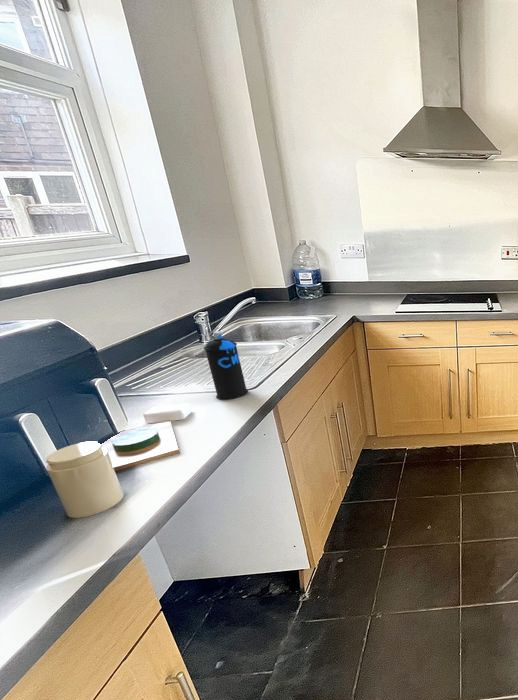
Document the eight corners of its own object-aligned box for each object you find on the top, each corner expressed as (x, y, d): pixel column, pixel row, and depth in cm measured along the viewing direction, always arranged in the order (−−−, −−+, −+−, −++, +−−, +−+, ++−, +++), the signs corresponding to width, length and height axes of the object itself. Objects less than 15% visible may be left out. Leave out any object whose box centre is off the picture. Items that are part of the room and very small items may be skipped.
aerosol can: (209, 398, 125) (192, 334, 119) (233, 388, 133) (217, 327, 126) (232, 401, 124) (215, 336, 117) (254, 390, 131) (240, 329, 124)
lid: (111, 456, 93) (108, 449, 93) (117, 440, 100) (114, 434, 99) (158, 445, 98) (155, 438, 97) (160, 431, 104) (158, 424, 104)
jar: (68, 502, 80) (44, 450, 76) (123, 485, 85) (104, 435, 81) (65, 524, 74) (39, 469, 70) (124, 504, 79) (103, 452, 75)
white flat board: (99, 441, 102) (98, 437, 101) (171, 423, 111) (170, 419, 110) (97, 476, 88) (96, 472, 87) (179, 452, 97) (178, 448, 96)
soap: (192, 411, 117) (190, 401, 116) (185, 420, 112) (181, 409, 111) (154, 415, 115) (151, 405, 113) (145, 424, 110) (141, 414, 109)
